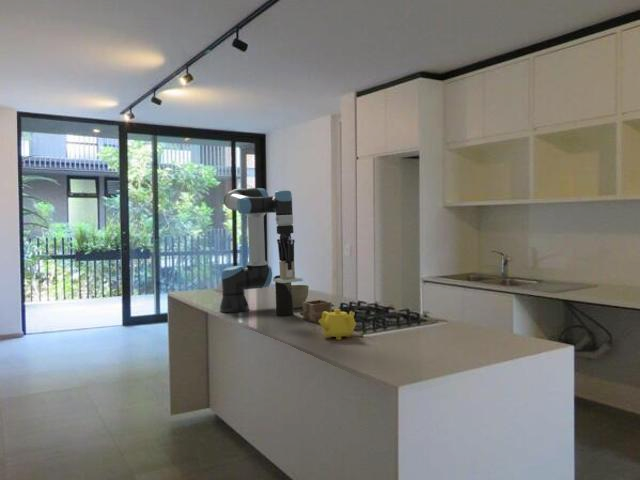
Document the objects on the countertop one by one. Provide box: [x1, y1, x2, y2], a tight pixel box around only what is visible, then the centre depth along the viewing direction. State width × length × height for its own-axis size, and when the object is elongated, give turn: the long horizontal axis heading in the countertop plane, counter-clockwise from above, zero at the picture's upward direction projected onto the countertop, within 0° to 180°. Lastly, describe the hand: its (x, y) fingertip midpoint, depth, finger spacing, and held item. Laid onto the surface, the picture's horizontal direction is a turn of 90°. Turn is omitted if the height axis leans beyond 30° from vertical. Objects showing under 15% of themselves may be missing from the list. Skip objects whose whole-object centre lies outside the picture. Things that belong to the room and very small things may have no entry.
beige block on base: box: [272, 260, 303, 283], centre depth 240 cm, size 10×10×9 cm
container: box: [273, 274, 294, 317], centre depth 264 cm, size 9×9×20 cm
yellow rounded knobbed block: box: [318, 308, 357, 341], centre depth 212 cm, size 20×18×11 cm
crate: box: [302, 299, 333, 323], centre depth 249 cm, size 10×10×8 cm
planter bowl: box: [291, 284, 309, 309], centre depth 286 cm, size 16×16×11 cm
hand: (287, 276), depth 240 cm, fingers closed on beige block on base, 3 cm apart
